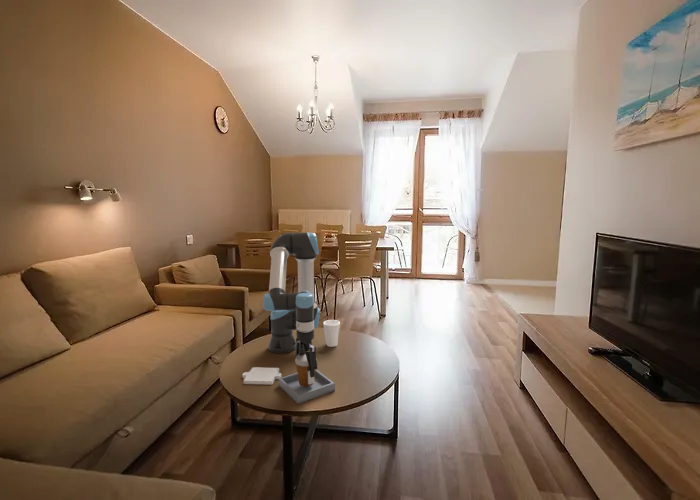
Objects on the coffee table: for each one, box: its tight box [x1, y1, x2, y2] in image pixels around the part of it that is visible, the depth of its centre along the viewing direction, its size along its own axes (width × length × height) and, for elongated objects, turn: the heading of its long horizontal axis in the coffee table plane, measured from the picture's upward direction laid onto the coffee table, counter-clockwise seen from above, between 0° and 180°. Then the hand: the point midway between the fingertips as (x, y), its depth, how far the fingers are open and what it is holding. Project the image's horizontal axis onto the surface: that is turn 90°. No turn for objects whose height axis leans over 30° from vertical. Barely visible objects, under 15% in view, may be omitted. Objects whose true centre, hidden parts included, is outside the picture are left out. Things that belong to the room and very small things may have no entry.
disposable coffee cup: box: [294, 354, 318, 387], centre depth 158 cm, size 10×10×12 cm
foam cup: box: [322, 319, 341, 348], centre depth 206 cm, size 10×9×13 cm
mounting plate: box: [242, 366, 282, 385], centre depth 169 cm, size 18×13×2 cm
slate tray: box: [278, 368, 336, 405], centre depth 159 cm, size 18×18×4 cm
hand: (306, 379), depth 159 cm, fingers closed on disposable coffee cup, 8 cm apart
